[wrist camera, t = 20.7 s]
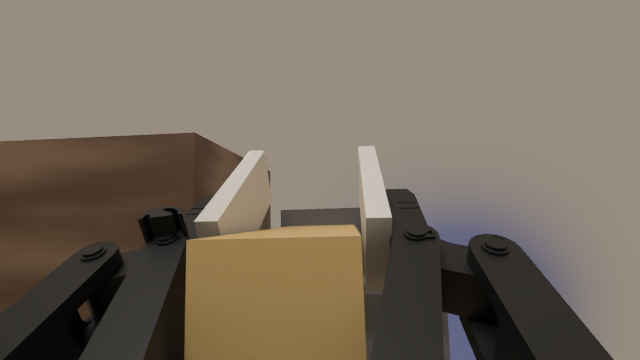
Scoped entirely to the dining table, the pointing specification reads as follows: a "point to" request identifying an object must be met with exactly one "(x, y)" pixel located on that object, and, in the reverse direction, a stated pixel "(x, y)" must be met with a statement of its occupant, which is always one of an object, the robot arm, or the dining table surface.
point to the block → (278, 291)
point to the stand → (107, 202)
